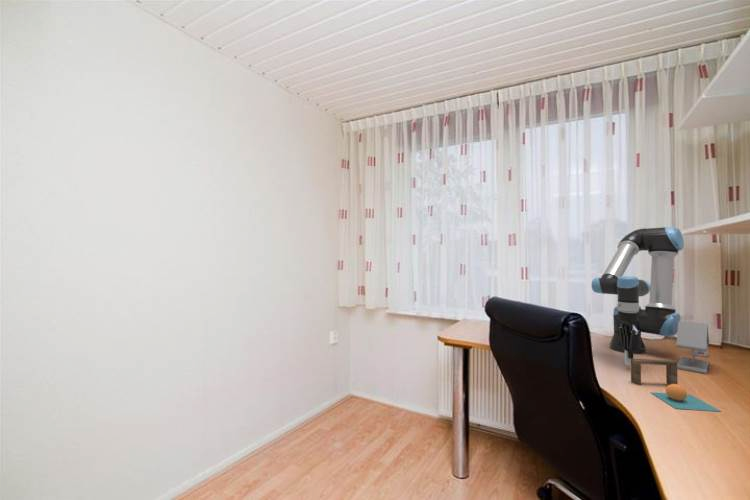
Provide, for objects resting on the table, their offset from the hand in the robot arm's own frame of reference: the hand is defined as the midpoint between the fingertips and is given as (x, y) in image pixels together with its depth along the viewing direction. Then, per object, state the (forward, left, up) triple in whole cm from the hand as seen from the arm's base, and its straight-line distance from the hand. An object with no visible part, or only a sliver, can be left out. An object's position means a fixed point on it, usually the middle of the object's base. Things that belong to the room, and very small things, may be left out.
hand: (629, 364), depth 149 cm
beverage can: (-28, +46, -2) cm, 54 cm away
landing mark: (+33, 0, -2) cm, 33 cm away
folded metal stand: (-8, +30, -2) cm, 31 cm away
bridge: (+17, 0, -2) cm, 17 cm away
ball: (+32, -2, +1) cm, 32 cm away
